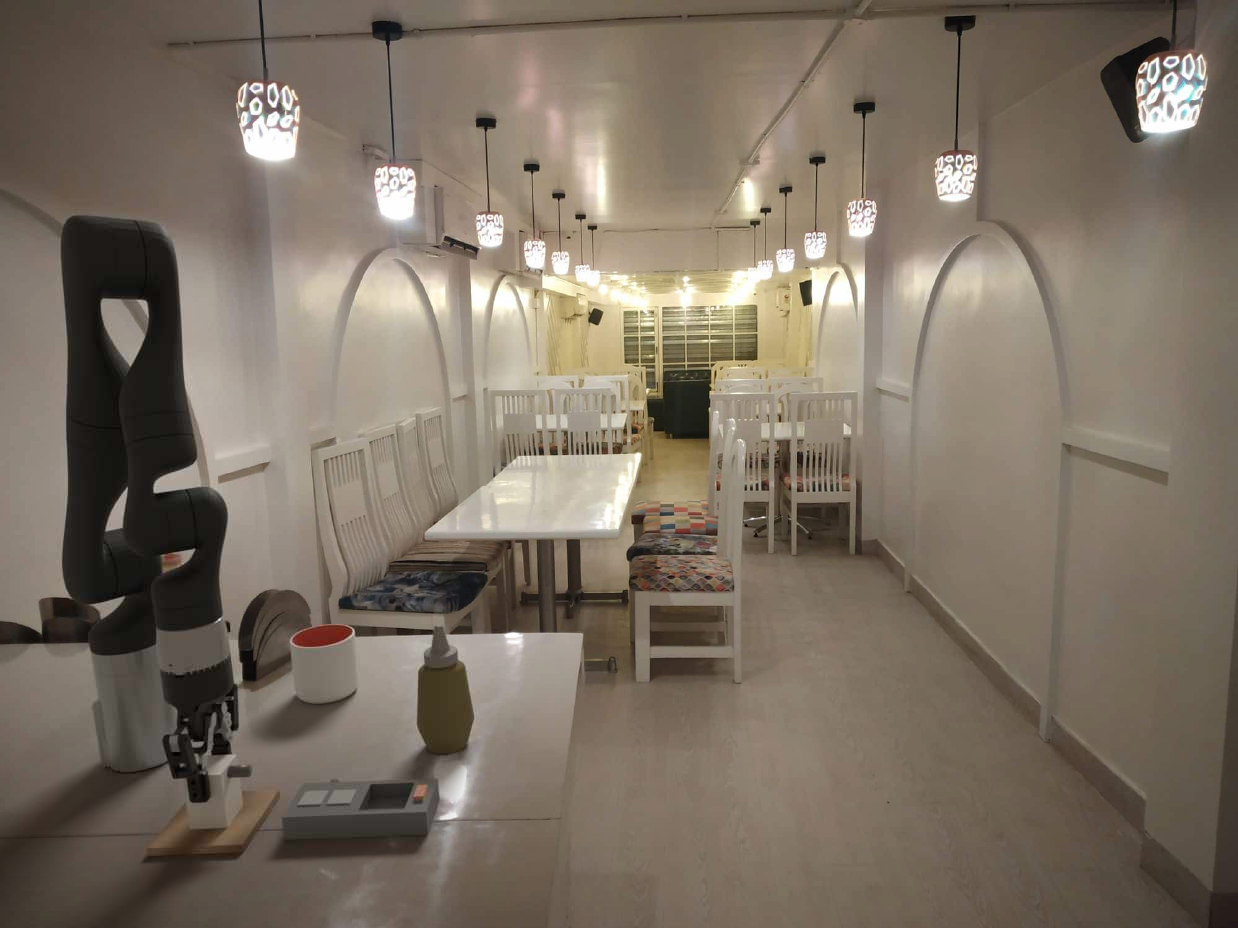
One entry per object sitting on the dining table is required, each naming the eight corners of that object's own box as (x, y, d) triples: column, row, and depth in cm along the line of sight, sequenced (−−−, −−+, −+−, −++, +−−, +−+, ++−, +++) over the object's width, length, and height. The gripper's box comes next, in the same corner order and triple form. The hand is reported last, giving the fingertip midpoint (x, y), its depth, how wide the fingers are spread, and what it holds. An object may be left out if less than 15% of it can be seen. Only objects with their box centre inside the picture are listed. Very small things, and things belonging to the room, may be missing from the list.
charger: (189, 829, 98) (182, 776, 97) (207, 806, 102) (200, 755, 101) (247, 826, 98) (240, 773, 97) (262, 804, 103) (255, 753, 101)
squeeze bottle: (463, 762, 113) (454, 639, 109) (408, 757, 114) (398, 636, 111) (484, 732, 120) (476, 617, 117) (433, 728, 122) (424, 614, 119)
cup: (299, 712, 128) (293, 653, 126) (292, 687, 137) (286, 631, 135) (365, 697, 133) (359, 639, 131) (354, 674, 141) (348, 619, 139)
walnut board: (148, 855, 95) (147, 848, 95) (194, 799, 106) (193, 792, 105) (243, 852, 95) (242, 844, 95) (280, 796, 106) (279, 789, 106)
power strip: (284, 839, 97) (281, 812, 96) (317, 785, 108) (314, 760, 107) (427, 834, 97) (425, 807, 97) (445, 780, 108) (443, 755, 108)
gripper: (193, 633, 103) (209, 755, 106) (128, 684, 89) (149, 824, 92) (252, 631, 103) (267, 753, 106) (197, 682, 89) (216, 821, 92)
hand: (212, 785), depth 99 cm, fingers open, 5 cm apart
